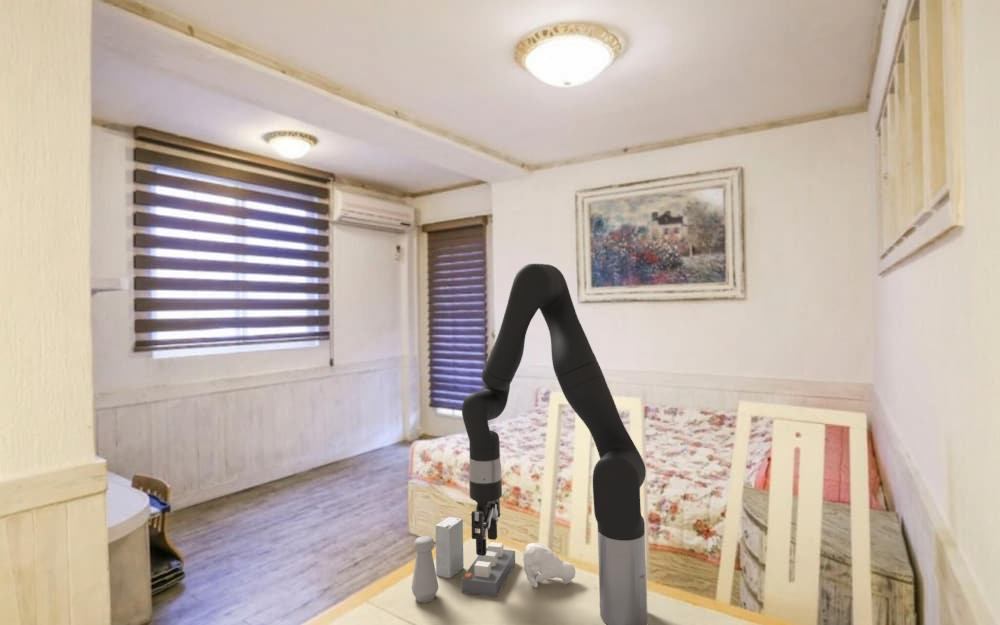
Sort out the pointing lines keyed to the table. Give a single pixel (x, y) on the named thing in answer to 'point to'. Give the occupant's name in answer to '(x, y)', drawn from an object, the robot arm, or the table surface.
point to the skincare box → (449, 547)
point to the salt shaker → (424, 571)
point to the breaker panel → (493, 579)
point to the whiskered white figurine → (545, 565)
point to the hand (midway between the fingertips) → (487, 546)
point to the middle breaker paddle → (490, 558)
